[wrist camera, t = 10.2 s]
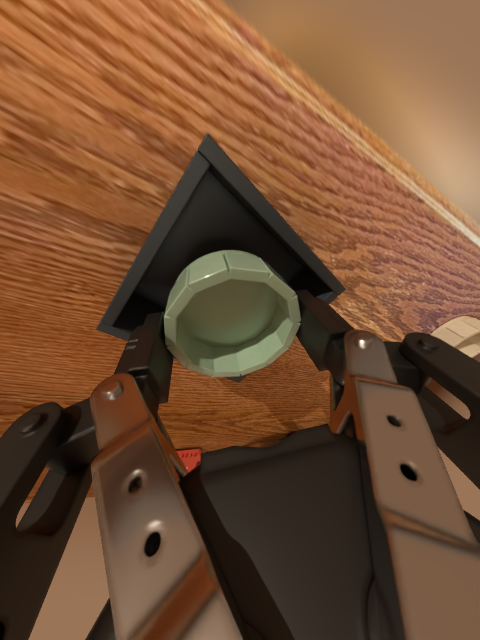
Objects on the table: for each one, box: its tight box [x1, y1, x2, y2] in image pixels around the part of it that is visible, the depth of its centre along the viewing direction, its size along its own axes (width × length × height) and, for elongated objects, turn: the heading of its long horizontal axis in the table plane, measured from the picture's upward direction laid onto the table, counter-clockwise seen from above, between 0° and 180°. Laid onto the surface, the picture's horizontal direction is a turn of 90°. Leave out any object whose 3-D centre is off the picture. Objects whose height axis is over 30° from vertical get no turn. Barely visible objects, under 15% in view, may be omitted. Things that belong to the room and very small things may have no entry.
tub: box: [96, 134, 345, 383], centre depth 13 cm, size 10×10×5 cm
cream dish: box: [430, 316, 480, 358], centre depth 24 cm, size 6×6×2 cm
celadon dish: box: [164, 250, 301, 377], centre depth 10 cm, size 6×6×2 cm
